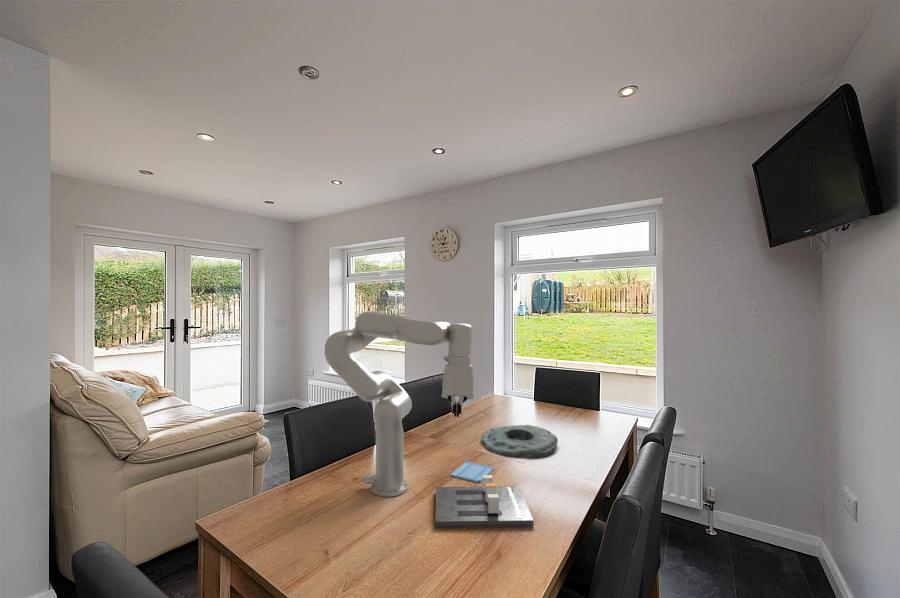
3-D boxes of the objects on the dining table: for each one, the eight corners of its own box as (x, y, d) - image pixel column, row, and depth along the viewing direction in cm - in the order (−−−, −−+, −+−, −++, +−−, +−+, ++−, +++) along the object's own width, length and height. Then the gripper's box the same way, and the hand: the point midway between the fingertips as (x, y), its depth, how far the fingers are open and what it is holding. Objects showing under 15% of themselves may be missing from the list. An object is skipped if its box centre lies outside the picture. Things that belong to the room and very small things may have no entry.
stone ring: (551, 433, 195) (551, 423, 195) (564, 460, 161) (564, 448, 161) (482, 431, 198) (482, 421, 198) (480, 456, 164) (480, 444, 164)
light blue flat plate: (479, 484, 139) (479, 481, 139) (450, 477, 145) (450, 473, 145) (494, 470, 151) (494, 467, 151) (466, 464, 157) (466, 461, 157)
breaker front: (488, 513, 114) (488, 497, 114) (487, 509, 116) (487, 494, 116) (498, 513, 114) (498, 497, 115) (497, 509, 116) (497, 494, 117)
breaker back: (483, 492, 127) (483, 477, 127) (482, 489, 129) (482, 475, 129) (492, 492, 127) (492, 477, 128) (491, 489, 129) (491, 475, 130)
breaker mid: (486, 502, 121) (486, 486, 121) (485, 498, 123) (485, 483, 123) (495, 502, 121) (495, 486, 121) (494, 498, 123) (494, 483, 123)
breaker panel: (435, 528, 111) (435, 521, 111) (435, 492, 132) (435, 486, 132) (533, 527, 112) (533, 519, 112) (518, 492, 133) (518, 485, 133)
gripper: (436, 361, 126) (433, 418, 126) (482, 363, 126) (479, 420, 126) (437, 357, 134) (434, 411, 133) (480, 359, 134) (478, 413, 133)
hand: (456, 415), depth 130 cm, fingers closed
